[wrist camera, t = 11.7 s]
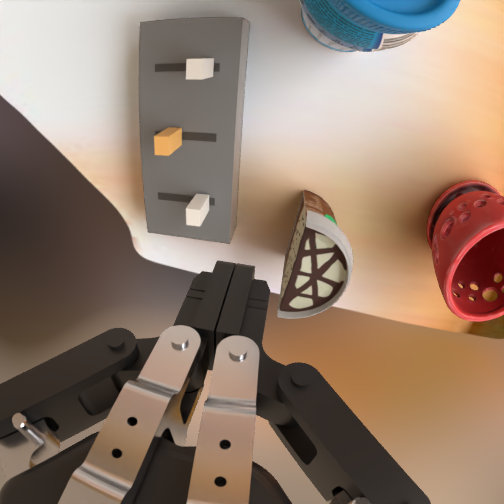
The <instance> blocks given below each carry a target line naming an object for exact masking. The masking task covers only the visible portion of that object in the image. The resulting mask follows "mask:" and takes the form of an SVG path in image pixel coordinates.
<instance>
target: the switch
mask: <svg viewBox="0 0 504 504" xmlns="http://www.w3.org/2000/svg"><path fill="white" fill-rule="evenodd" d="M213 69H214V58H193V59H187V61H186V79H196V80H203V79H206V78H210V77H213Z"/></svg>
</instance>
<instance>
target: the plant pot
mask: <svg viewBox="0 0 504 504" xmlns="http://www.w3.org/2000/svg"><path fill="white" fill-rule="evenodd" d="M427 238H428V242H429V245H430V247H431V249H432V256H433V263H434V268H435V273H436V277H437V280H438V283H439V287H440V289H441V292H442V295H443V297H444V300H445V302H446V304H447V306H448V308H449V309H450V310H451V311H452V312H453V313H454V314H455V315H456V316H458V317H459V318H462V319H464V320H468V321H486V320H491V319H494V318H497V317H500V316H502V315H504V293H503V292H502V289H503V288H504V197H503V196H501V195H500V194H499V193H498V191H497V190H496V189H495V188H493V187H492V186H491V185H489V184H487V183H485V182H482V181H476V180H469V181H464V182H460V183H458V184H456V185H454V186H452V187H450V188H449V189H448V190H446V191H445V192H444V193H443V194H442V195H441V196H440V197H439V198H438V200H437V201H436V203H435V204H434V206H433V208H432V210H431V212H430V215H429V218H428V223H427ZM498 274H501V275H502V276H503V279H502V280H501V282H499V283H496V282H495V281H494V278H495V277H496V275H498ZM458 283H459V284H461V285H462V286H463V288H460V287H459V285H458ZM470 284H475V285H477V286H478V290H473V289H471V288H470ZM487 290H493V291H495V292H496V293H497V295H498V297H497V299H496V300H494V301H491V302H489V301H487V300H485V299H484V298H483V296H482V294H483V293H484V292H485V291H487ZM453 293H455V294H456V295H457V297H456V296H455V295H454V294H453ZM469 297H472V298H473V299H474V301H472V300H470V299H469Z"/></svg>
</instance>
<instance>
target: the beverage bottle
mask: <svg viewBox="0 0 504 504" xmlns="http://www.w3.org/2000/svg"><path fill="white" fill-rule="evenodd" d="M459 2H460V0H300V4H301V15H302V20H303V23H304V25H305V27H306V29H307V31H308V32H309V33H310V35H311V36H312V37H313V38H314V39H315V40H317V41H318V42H319V43H321V44H322V45H324V46H326V47H328V48H330V49H333V50H337V51H342V52H353V51H362V52H374V51H381V50H385V49H388V48H393V47H397V46H400V45H402V44H404V43H406V42H408V41H410V40H411V39H413V38H414V37H415V36H416V35H417V34H418V33H419V32H421V31H426V30H430V29H431V28H435V27H436V26H439V25H440V24H441V23H443V22H444V21H446V20H447V19H448V18H449V17H450V16H451V15H452V14H453V13H454V12H455V10H456V8H457V7H458V4H459Z"/></svg>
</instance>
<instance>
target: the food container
mask: <svg viewBox="0 0 504 504" xmlns="http://www.w3.org/2000/svg"><path fill="white" fill-rule="evenodd" d="M352 266H353V253H352V249H351V245H350V243H349V241H348V239H347V237H346V236H345V234H344V233H343V232H342V230H341V229H340V228H339V227H338V226H337V223H336V220H335V217H334V214H333V212H332V210H331V208H330V206H329V205H328V204H327V203H326V202H325V201H324V200H323V199H322V198H321V197H319V196H318V195H316V194H314V193H312V192H310V191H307V190H304V191H303V194H302V198H301V202H300V205H299V209H298V213H297V216H296V220H295V223H294V227H293V230H292V234H291V237H290V241H289V244H288V248H287V251H286V255H285V262H284V270H283V277H282V285H281V292H280V300H279V306H278V310H277V317H280V318H303V317H308V316H312V315H315V314H318V313H320V312H322V311H325V310H326V309H328V308H329V307H331V306H332V305H333V304H335V303H336V302H337V301H338V300H339V298H340V297H341V296H342V295H343V293H344V291H345V289H346V288H347V286H348V284H349V281H350V278H351V272H352Z"/></svg>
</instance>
